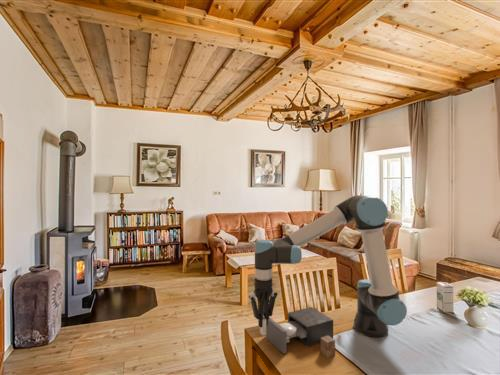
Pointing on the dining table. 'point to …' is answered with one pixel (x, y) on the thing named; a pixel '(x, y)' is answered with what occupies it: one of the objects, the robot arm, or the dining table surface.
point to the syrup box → (445, 297)
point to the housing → (312, 325)
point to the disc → (289, 329)
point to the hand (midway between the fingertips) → (263, 333)
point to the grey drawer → (282, 334)
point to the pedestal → (327, 346)
